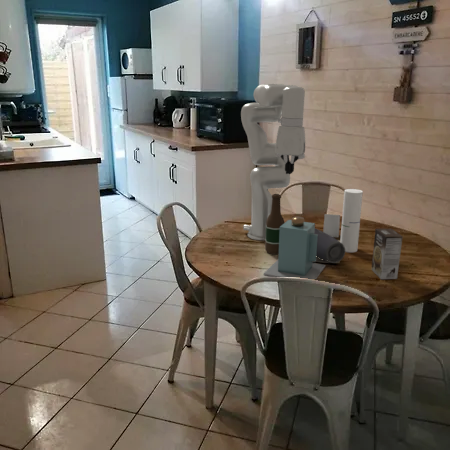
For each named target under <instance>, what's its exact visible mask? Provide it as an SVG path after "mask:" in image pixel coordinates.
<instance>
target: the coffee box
mask: <svg viewBox="0 0 450 450" xmlns="http://www.w3.org/2000/svg"><path fill="white" fill-rule="evenodd" d="M402 245H403V235H401V234H400V233H398V231H395V229H393V228H375V230H374V240H373V251H372V259H371V260H372V261H371V271H372V272H373V273H374V274H376V276H377V277H378V278H379V279H380V280H397V279H398V274H399V268H400V267H399V266H400V259H401V254H402V253H401V251H402Z"/></svg>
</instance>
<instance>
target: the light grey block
mask: <svg viewBox="0 0 450 450" xmlns="http://www.w3.org/2000/svg"><path fill="white" fill-rule="evenodd" d="M323 217H324V219H323V220H324V221H323V231H322V232H324V233H326V234H328V235H330V236H331V237H333V238H339V237H340V235H339V234H340V223H341V214H330V213H329V214H328V213H324V216H323Z"/></svg>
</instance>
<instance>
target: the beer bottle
mask: <svg viewBox="0 0 450 450" xmlns="http://www.w3.org/2000/svg"><path fill="white" fill-rule="evenodd" d="M271 195H272V207H271V213H270V215H269V216H268V218H267V220H266V238H265V240H264V241H265V242H264V243H265V244H264V246H265V247H264V248H265V251H266V253H267V254H270V255H279V232H280V226H282V225H283V224H284V223H285V222H286V221H285V219H284V217H283V216H282V213H281V212H282V211H281V198H282V197H281V194H279V193H274V194H271Z"/></svg>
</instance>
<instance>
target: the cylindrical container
mask: <svg viewBox="0 0 450 450" xmlns="http://www.w3.org/2000/svg"><path fill="white" fill-rule="evenodd" d="M363 193H364V191H363V190H361V189H355V188H349V189H348V188H347V189H344V192H343V204H342V215H341V216H342V218H341V227H340V228H341V230H340V241H339V242H340V243H342V244H343V245H344V247H345V253H356V252H358V248H359V247H358V246H359V237H360V226H361V225H360V224H361V214H362V203H363Z"/></svg>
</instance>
